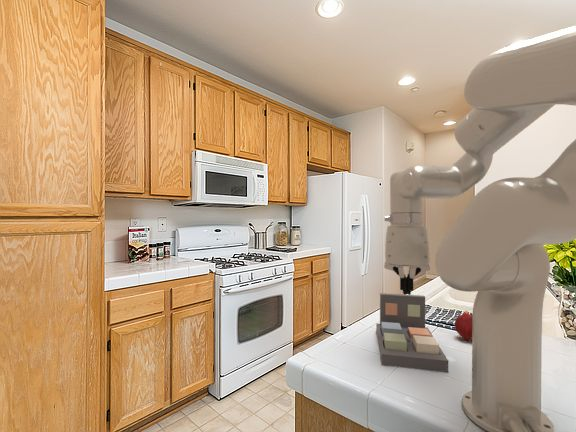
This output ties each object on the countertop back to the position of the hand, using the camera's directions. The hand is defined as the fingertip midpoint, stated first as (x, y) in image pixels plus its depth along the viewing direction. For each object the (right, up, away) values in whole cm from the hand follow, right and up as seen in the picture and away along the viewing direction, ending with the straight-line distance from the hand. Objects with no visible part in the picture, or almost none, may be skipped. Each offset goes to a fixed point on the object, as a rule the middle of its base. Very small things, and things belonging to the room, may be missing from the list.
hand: (406, 293), depth 76 cm
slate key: (-2, -13, +6) cm, 14 cm away
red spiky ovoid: (+19, -15, +7) cm, 26 cm away
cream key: (+3, -13, -4) cm, 14 cm away
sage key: (-4, -13, -2) cm, 13 cm away
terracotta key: (+5, -14, +4) cm, 15 cm away
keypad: (+1, -15, +1) cm, 15 cm away
